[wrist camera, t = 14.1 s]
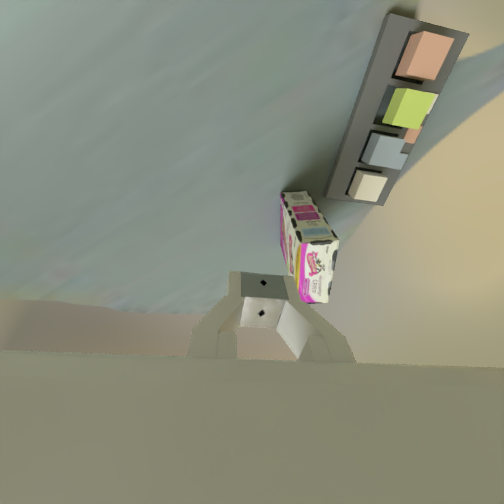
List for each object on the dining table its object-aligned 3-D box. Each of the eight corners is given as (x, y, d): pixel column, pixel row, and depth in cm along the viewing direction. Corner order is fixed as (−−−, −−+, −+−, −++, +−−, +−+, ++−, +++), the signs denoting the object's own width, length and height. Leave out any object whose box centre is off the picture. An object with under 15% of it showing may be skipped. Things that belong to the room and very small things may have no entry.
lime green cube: (391, 88, 32) (407, 88, 29) (417, 94, 32) (435, 94, 29) (378, 121, 34) (391, 124, 31) (403, 126, 35) (418, 129, 32)
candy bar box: (278, 191, 41) (299, 242, 28) (306, 189, 41) (342, 238, 28) (278, 245, 47) (296, 307, 34) (303, 243, 47) (330, 304, 34)
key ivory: (354, 168, 39) (364, 174, 36) (376, 171, 40) (387, 177, 37) (345, 191, 41) (353, 198, 38) (366, 194, 42) (376, 201, 39)
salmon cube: (406, 36, 30) (424, 30, 27) (433, 43, 31) (454, 38, 28) (391, 75, 32) (406, 73, 29) (416, 81, 33) (434, 80, 30)
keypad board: (385, 15, 29) (391, 12, 28) (462, 35, 30) (471, 33, 29) (323, 195, 42) (326, 198, 41) (379, 203, 43) (384, 206, 42)
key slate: (368, 131, 36) (380, 135, 33) (392, 135, 37) (406, 139, 34) (358, 158, 38) (368, 164, 35) (380, 162, 39) (392, 168, 36)
